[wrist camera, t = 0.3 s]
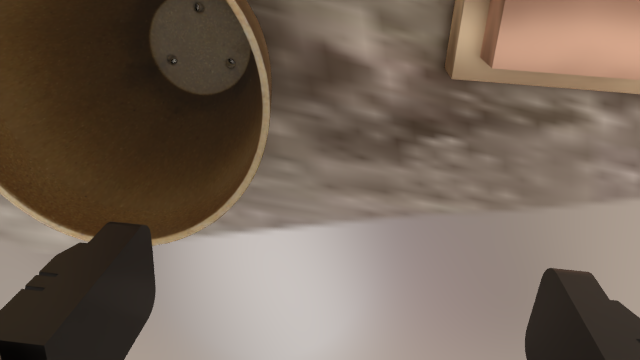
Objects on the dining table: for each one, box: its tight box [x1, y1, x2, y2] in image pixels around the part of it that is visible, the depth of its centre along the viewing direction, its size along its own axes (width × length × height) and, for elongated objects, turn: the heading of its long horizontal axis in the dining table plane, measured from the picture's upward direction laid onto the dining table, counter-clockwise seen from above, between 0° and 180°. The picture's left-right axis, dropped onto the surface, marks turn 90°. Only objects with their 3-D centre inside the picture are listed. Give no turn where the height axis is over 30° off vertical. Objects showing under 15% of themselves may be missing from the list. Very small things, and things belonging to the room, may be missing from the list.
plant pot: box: [0, 0, 272, 246], centre depth 30 cm, size 15×15×16 cm
